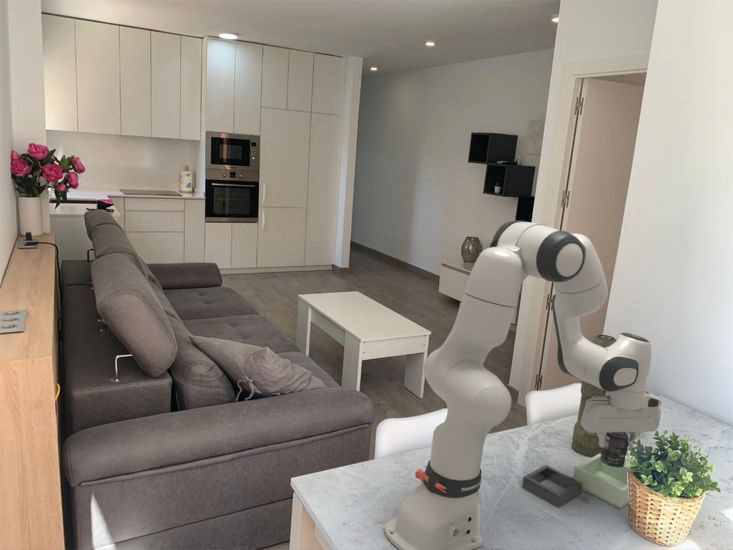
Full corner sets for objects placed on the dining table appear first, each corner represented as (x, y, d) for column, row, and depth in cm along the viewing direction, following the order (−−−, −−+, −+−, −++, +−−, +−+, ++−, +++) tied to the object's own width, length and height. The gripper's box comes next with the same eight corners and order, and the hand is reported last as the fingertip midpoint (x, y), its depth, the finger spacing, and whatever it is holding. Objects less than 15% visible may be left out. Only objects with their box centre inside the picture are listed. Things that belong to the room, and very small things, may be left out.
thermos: (591, 462, 163) (611, 345, 156) (561, 442, 174) (579, 331, 166) (613, 457, 167) (634, 342, 160) (583, 438, 177) (601, 330, 170)
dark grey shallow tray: (558, 507, 140) (560, 496, 139) (522, 487, 147) (523, 476, 147) (580, 493, 147) (582, 483, 146) (544, 475, 154) (546, 464, 154)
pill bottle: (628, 464, 149) (636, 423, 147) (618, 471, 145) (626, 429, 143) (606, 454, 153) (613, 415, 151) (595, 461, 149) (602, 420, 147)
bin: (620, 509, 141) (623, 490, 140) (572, 484, 151) (574, 467, 150) (643, 492, 150) (647, 475, 149) (596, 469, 159) (599, 453, 158)
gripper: (594, 401, 140) (585, 453, 143) (668, 401, 144) (658, 451, 147) (580, 391, 146) (572, 441, 149) (651, 390, 150) (642, 439, 153)
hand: (615, 446), depth 148 cm, fingers closed on pill bottle, 6 cm apart
